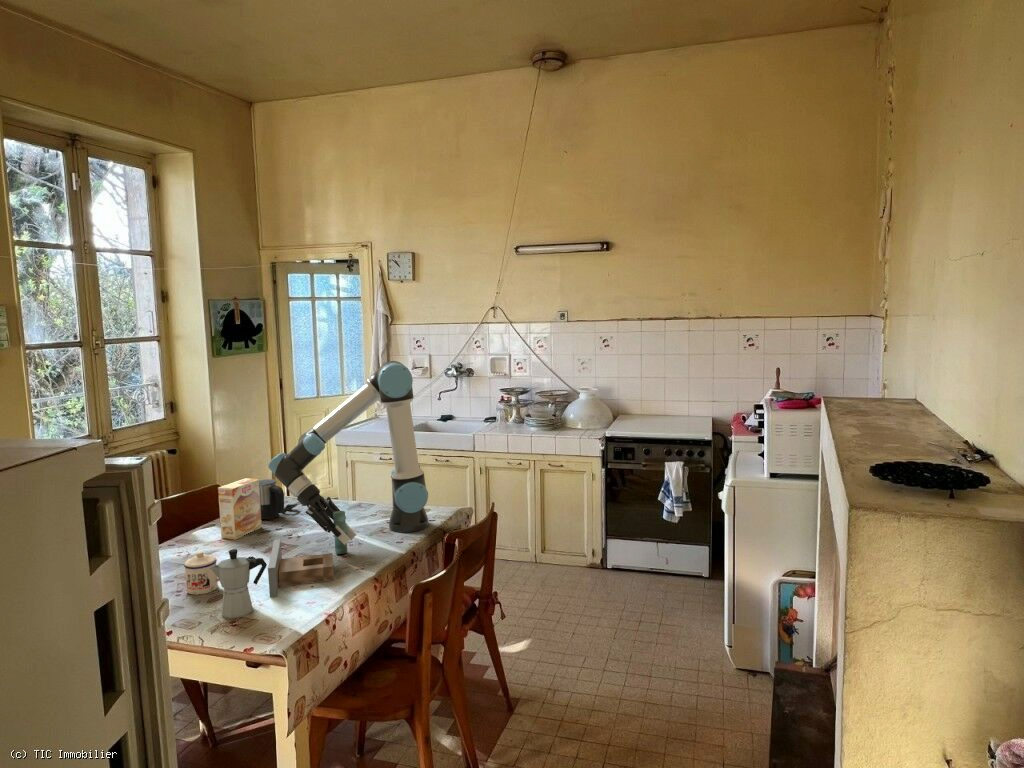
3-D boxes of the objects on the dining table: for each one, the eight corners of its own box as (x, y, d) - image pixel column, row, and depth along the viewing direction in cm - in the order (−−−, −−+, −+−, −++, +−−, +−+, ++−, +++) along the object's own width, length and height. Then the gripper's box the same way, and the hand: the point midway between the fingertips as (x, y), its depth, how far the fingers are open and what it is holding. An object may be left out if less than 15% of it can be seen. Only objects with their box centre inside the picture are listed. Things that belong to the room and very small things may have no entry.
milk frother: (250, 520, 278) (248, 484, 277) (270, 508, 294) (268, 474, 292) (283, 521, 276) (280, 485, 274) (301, 509, 291) (299, 475, 290)
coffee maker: (212, 622, 186) (207, 559, 184) (212, 610, 194) (208, 548, 192) (270, 612, 192) (266, 550, 190) (268, 600, 200) (264, 540, 198)
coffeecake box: (236, 540, 254) (232, 488, 252) (220, 538, 256) (216, 487, 254) (262, 527, 268) (259, 478, 266) (247, 525, 271) (244, 477, 268)
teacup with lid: (181, 596, 204) (178, 558, 203) (192, 584, 213) (189, 548, 212) (222, 593, 206) (220, 556, 204) (232, 581, 215) (229, 545, 213)
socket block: (333, 566, 225) (332, 553, 224) (333, 580, 213) (332, 566, 213) (281, 572, 221) (281, 558, 220) (279, 586, 209) (278, 572, 209)
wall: (282, 565, 227) (280, 539, 226) (277, 596, 202) (275, 567, 201) (276, 566, 227) (274, 539, 226) (269, 597, 202) (267, 568, 201)
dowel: (347, 549, 239) (344, 510, 238) (347, 553, 236) (345, 513, 234) (335, 550, 238) (332, 511, 237) (335, 554, 235) (333, 514, 233)
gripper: (297, 490, 229) (345, 541, 226) (323, 477, 245) (368, 524, 243) (284, 504, 231) (331, 555, 228) (311, 491, 247) (355, 538, 245)
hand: (350, 539), depth 236 cm, fingers closed on dowel, 4 cm apart
